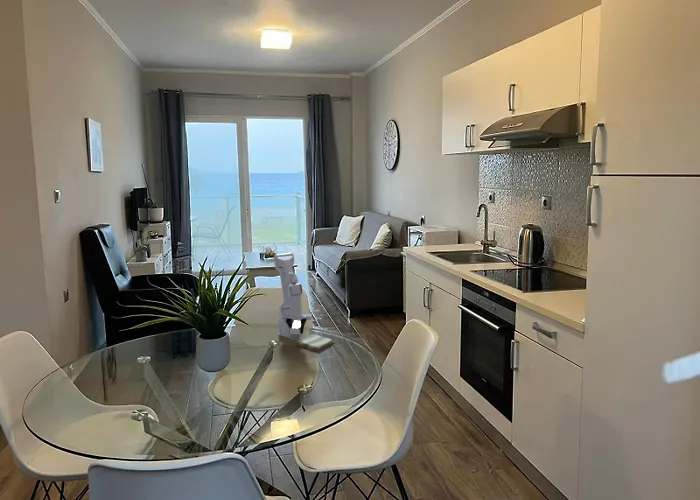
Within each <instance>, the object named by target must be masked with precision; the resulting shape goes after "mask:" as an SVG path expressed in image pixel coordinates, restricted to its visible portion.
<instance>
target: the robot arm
mask: <svg viewBox="0 0 700 500" xmlns="http://www.w3.org/2000/svg"><path fill="white" fill-rule="evenodd" d="M273 262H274V268H275V270H276V271H278V272H279V277H280V284H281V291H282V298H283V301H282V302H281V303H280V304H279V307H278V312H279V313H278V315H279V318H280V319H279V320H278V335H277V336H281V337H285V338H288V339H291V338H290V327H291V326H292V324H293V322H294V321H298V320H299V321H300V324H301V334H302V335H304V332H303V331H304V329H305V325H306V323H307V320H308V321H311V320H312V315H311V314H304V313H303V311H302V307H303V306H302V295H303V285H302V284H301V282H300V281H299V279H298V276H297V274H296V273H295V272H294V270H293V266H294V264H295V254H294V253H293V252H292V251H291V252H284V253H276V254H274V255H273Z"/></svg>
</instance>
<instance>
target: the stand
mask: <svg viewBox="0 0 700 500" xmlns="http://www.w3.org/2000/svg"><path fill="white" fill-rule="evenodd" d="M334 343H335V340H333V339H331V338H328V337H325V336H322V335H321V336H320V335H318V334H316V333H315V334H314V333H312V334H309V335H307V336H305V337H304V338H301V339H300V340H298V343H296V346H297V347H300V348H304V349H307V350H309V351H313V352H316V353H319V352H321V351H323V350H324V349H326V348H328V347H329V346H331V345H332V344H334Z"/></svg>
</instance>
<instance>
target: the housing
mask: <svg viewBox="0 0 700 500" xmlns="http://www.w3.org/2000/svg"><path fill="white" fill-rule="evenodd" d="M300 321H301V320H297V321H294V322H293V324H292V326H291V327H290V338H289V339H290V340H291V341H292V340H295V341H300V340H301V339H302V336H303V334H301V324H300ZM303 333H304V330H303Z"/></svg>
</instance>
